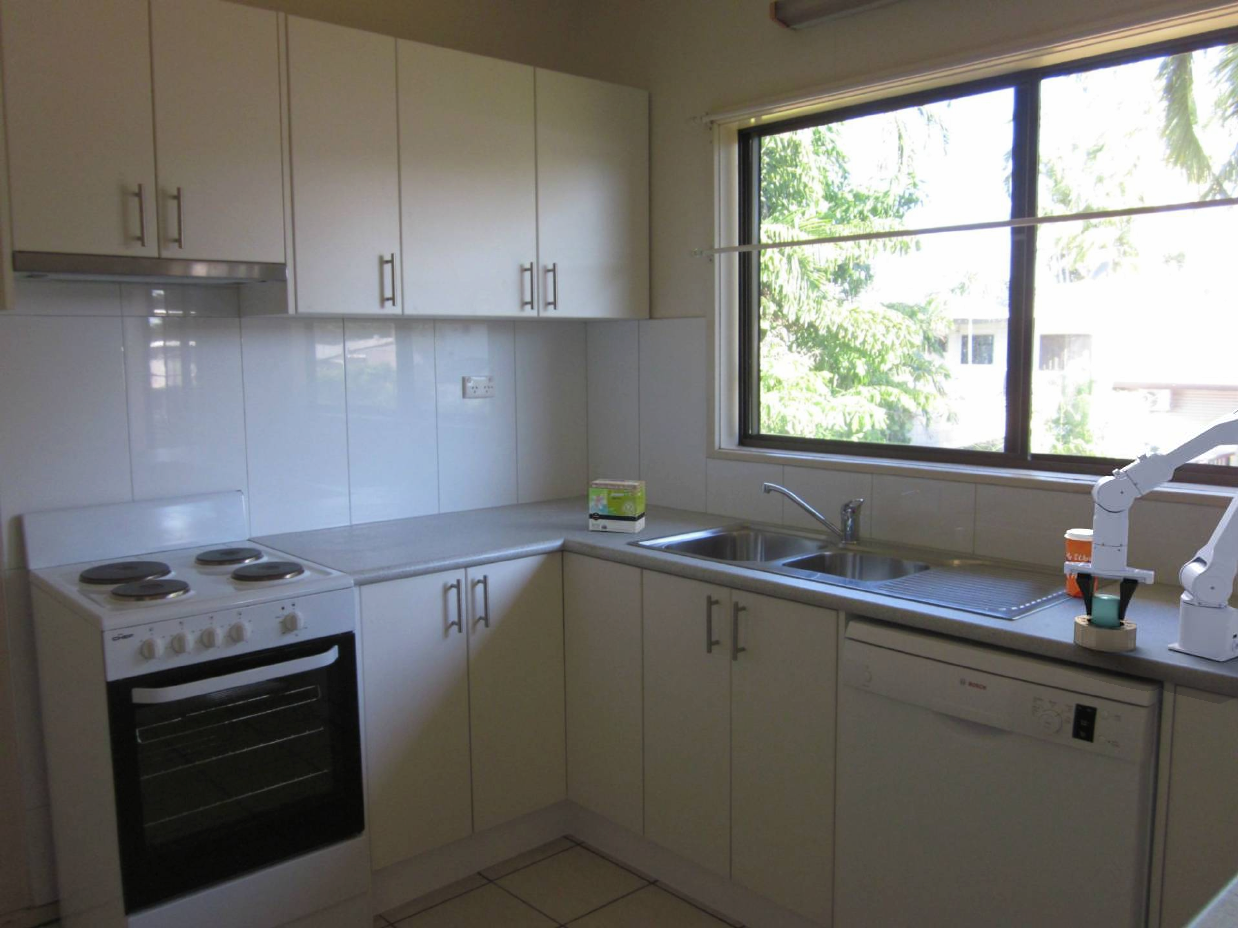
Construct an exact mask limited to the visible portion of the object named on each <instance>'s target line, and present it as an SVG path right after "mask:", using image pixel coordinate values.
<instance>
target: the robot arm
mask: <svg viewBox="0 0 1238 928" xmlns="http://www.w3.org/2000/svg"><path fill="white" fill-rule="evenodd" d="M1219 446H1238V408H1237V409H1235V410H1234V411H1232V413H1230V412H1229V413H1227V414H1225V415H1222V416H1220V417H1219V418H1217V419H1215V420H1214V421H1212V422H1210V423H1209V424H1208V425H1206V426H1204V427H1203V428H1201V429H1199V430H1198V431H1196V432H1195V433H1192V434H1191V435H1190V436H1188V437H1187V438H1185V439H1184V440H1182V441H1180V442H1179V443H1177V444H1175V445H1174V446H1173V447H1171V448H1170V449H1167V450H1166V451H1165V452H1162V453H1161V452H1156V451H1150V452H1149V453H1147V454H1146V453H1145V452H1141V453H1140V454H1138V455H1137V456H1136V458H1137V459H1136V460H1135V461H1133V462H1131V463H1130V464H1128V465H1126V466H1125V467H1123V468H1122V469H1118V468H1116V469H1114V470H1112V474H1113V476H1112V475H1111V476H1107V475H1106V476H1103V477H1102V478H1100V479H1098V480H1097V481H1096V483H1095V485H1093V488H1092V489H1091V491H1090V492H1091V497H1092V499H1093V501H1094V502H1095V503H1094V510H1093V512H1094V515H1093V518H1092V519H1093V521H1092V522H1093V523H1092V530H1093V536H1092V556H1091V563H1079V562H1066V561H1065V562H1064V563H1063V564H1064V565H1063V566H1064V567H1063V574H1071V573H1072V574H1077V578H1076V583H1077V585H1078V587H1079V589H1080V591H1081V593H1082V596H1083V602H1084V606H1085V613H1086V614H1085V615H1087V616H1091V604H1092V596H1093V594H1094V585H1095V577H1097V578H1105V579H1115V580H1122V581H1121V582H1120V583H1119V597H1120V607H1119V614H1118V620H1122V621H1123V620H1124V619H1126V613H1127V609H1128V606H1129V604H1130V601H1131V599H1132V597H1133V595H1134V594H1135V591H1136V590H1137V589H1138V586H1139V585H1140V584H1141V583H1145V584H1147V585H1152V584H1154V581H1155V580H1154V579H1155V571H1152V570H1145V569H1139V568H1134V567H1129V566H1127V560H1128V559H1127V558H1128V542H1129V523H1130V521H1129V508H1130V507H1132V505H1133V503H1134V501H1135V499H1136V498H1141V497H1142V496H1144V495H1146V494H1148V493H1149V492H1152V491H1153V490H1155V489H1157V488H1158V487H1159V486H1161V485H1163V484H1165V483H1166V482H1169V481H1170V480H1172V478H1173V475H1174V473H1175V469H1177V468H1179V467H1180V466H1183V465H1185V464H1186V463H1188V462H1190V461H1192V460H1194V459H1196V458H1198V457H1199V456H1201V455H1203V454H1205V453H1208V452H1209V451H1211V450H1214V449H1215V448H1217V447H1219ZM1237 574H1238V490H1237V492H1236V493H1235V495H1234V496H1233V498H1232V500H1231V502H1230V504H1229V505H1228V507H1227V509H1226V511H1225V512H1224V514H1223V516H1222V518H1221V520H1220V521H1219V523H1218V524H1217V526H1216V528H1215V530H1214V531H1213V533H1212V535H1211V537H1210V539H1209V540H1208V542H1207V544H1205V545H1204V546H1202V548H1200V549H1199V550H1198V551H1197V552H1196V554H1195V555H1194V557H1193V558H1192V559H1191V560H1189V561H1188V562H1186V563H1185V564H1184V565H1183V566H1182V567H1181V568H1180V571H1179V575H1178V579H1179V583H1180V585H1181V586H1182V587H1183V588H1184V591H1183V593H1182V594H1181V595H1180V603H1179V605H1180V606H1179V619H1178V620H1179V621H1178V636H1177V642H1175V643H1170V644H1168V645H1167V646H1166V648H1167V649H1168V650H1172V651H1178V652H1181V653H1186V654H1190V655H1193V656H1197V657H1201V658H1204V659H1205V658H1206V659H1210V660H1213V661H1218V662H1225V661H1227V660H1231V659H1234V658H1236V657H1238V608H1234V607H1232V606H1230V605H1229V599H1230V597H1231V596H1232V593H1233V588H1234V587H1233V585H1234V584H1233V582H1234V579H1235V577H1236V575H1237Z"/></svg>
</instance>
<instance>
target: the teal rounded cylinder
mask: <svg viewBox="0 0 1238 928" xmlns="http://www.w3.org/2000/svg"><path fill="white" fill-rule="evenodd" d="M1119 607H1120V596H1116V595H1111V594H1100V593H1099V594H1098V593H1096V594H1095V595H1093V596H1092V604H1091V624H1094V625H1098V626H1105V627H1120V620H1118V614H1119Z"/></svg>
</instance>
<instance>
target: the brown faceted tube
mask: <svg viewBox="0 0 1238 928" xmlns="http://www.w3.org/2000/svg"><path fill="white" fill-rule="evenodd" d="M1073 625H1074V628H1073V643H1075V644H1076V643H1077V644H1076V645H1079V646H1080V647H1083V648H1086V649H1091V650H1094V651H1100V652H1109V653H1127V651H1128V652H1131V651H1134V650H1136V646H1137V623H1136V622H1133V621H1132V620H1129V619H1127V618H1125V619H1124V620H1123V621H1122V620H1120V627H1105V626H1098V625H1094V624H1091V616H1087V614H1082V615H1079V616H1075V617H1074V624H1073ZM1130 650H1131V651H1130Z"/></svg>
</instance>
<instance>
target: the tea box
mask: <svg viewBox="0 0 1238 928" xmlns="http://www.w3.org/2000/svg"><path fill="white" fill-rule="evenodd" d="M645 524H646V481H645V480H635V479H634V480H633V479H632V480H631V479H617V478H616V479H615V478H614V479H613V478H597V479H596V480H593V481H592V482H588V529H589V531H602V532H603V531H605V532H612V533H614V532H615V533H628V534H637V533H639V532H640V531H642V530H643V529H644V528H645V526H646V525H645Z"/></svg>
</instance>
